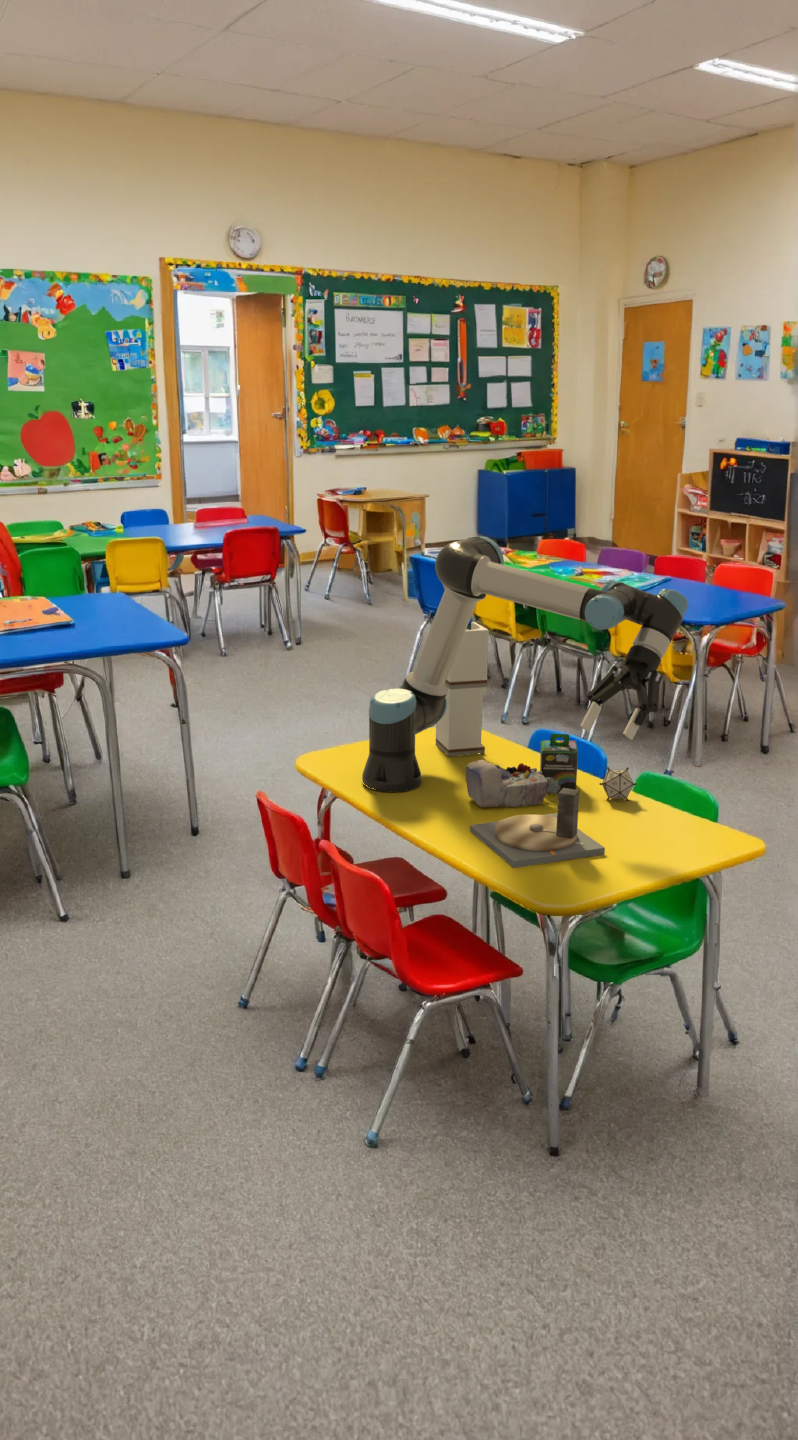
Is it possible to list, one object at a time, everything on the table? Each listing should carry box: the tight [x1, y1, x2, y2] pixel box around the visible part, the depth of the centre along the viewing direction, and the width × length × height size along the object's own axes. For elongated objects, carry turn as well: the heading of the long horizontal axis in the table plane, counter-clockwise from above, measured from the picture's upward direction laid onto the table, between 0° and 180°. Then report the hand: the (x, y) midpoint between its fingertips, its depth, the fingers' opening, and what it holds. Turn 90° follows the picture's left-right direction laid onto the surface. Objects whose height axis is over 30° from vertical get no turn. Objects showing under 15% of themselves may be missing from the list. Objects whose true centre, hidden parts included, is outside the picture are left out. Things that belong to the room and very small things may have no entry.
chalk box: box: [539, 733, 579, 795], centre depth 281 cm, size 9×9×15 cm
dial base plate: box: [469, 812, 606, 869], centre depth 249 cm, size 22×22×2 cm
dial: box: [495, 788, 580, 851], centre depth 247 cm, size 18×18×12 cm
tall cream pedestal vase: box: [435, 621, 490, 757], centre depth 309 cm, size 11×11×35 cm
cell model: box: [465, 759, 550, 808], centre depth 273 cm, size 13×11×20 cm
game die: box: [598, 766, 637, 802], centre depth 275 cm, size 9×8×10 cm
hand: (605, 733), depth 250 cm, fingers open, 13 cm apart
